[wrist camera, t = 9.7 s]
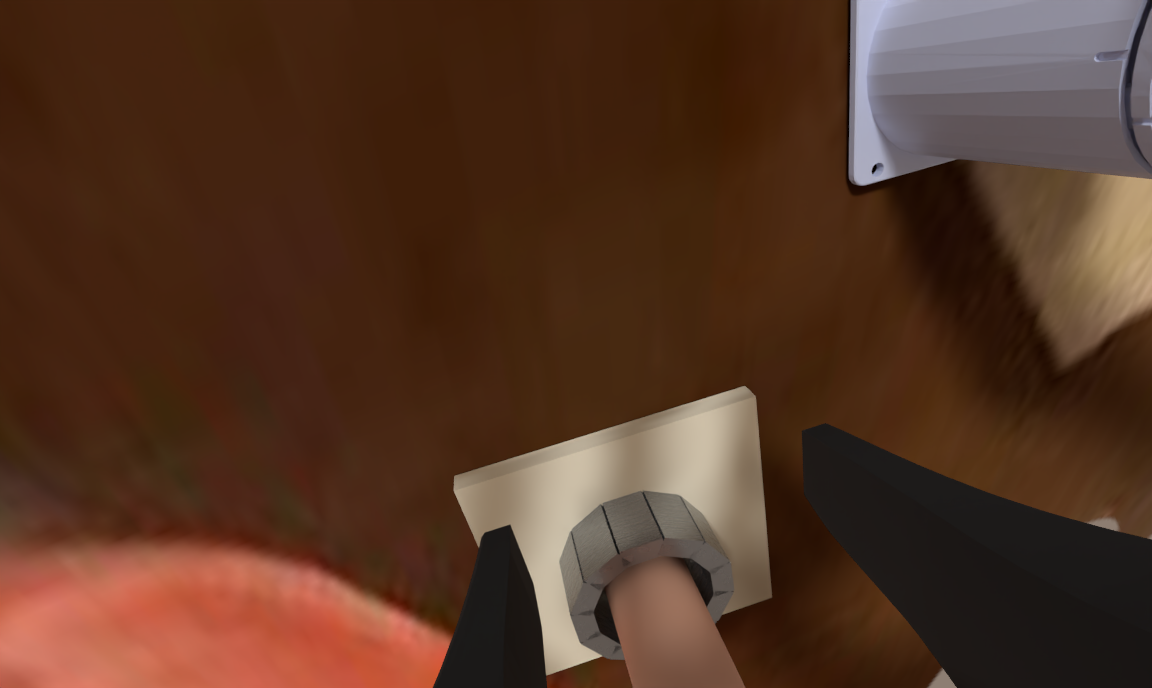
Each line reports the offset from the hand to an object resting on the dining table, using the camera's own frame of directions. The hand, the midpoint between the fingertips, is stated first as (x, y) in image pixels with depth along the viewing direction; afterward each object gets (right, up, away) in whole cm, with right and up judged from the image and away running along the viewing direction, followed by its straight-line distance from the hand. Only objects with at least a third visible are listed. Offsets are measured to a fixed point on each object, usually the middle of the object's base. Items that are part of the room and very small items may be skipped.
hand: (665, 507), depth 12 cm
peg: (+1, -7, +14) cm, 15 cm away
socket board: (+1, -6, +15) cm, 16 cm away
